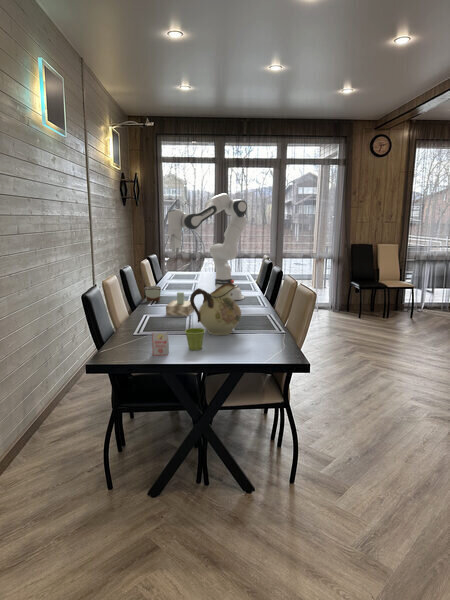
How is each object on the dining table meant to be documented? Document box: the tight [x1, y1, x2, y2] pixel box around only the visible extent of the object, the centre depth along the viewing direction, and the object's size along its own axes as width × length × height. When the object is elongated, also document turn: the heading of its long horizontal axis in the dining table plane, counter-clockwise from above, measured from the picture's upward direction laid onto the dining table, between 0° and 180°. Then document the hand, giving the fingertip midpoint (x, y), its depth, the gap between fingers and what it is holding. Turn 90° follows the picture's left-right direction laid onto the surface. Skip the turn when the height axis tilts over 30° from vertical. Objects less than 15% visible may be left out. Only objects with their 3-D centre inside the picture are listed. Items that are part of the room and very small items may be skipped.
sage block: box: [176, 291, 185, 304], centre depth 263 cm, size 4×4×7 cm
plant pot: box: [184, 327, 206, 351], centre depth 195 cm, size 9×9×9 cm
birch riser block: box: [165, 300, 195, 317], centre depth 264 cm, size 14×16×6 cm
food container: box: [143, 285, 162, 303], centre depth 298 cm, size 12×6×10 cm, turn 84°
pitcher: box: [189, 283, 242, 336], centre depth 218 cm, size 22×24×25 cm
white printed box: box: [151, 332, 170, 357], centre depth 187 cm, size 4×7×10 cm, turn 90°
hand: (175, 254), depth 283 cm, fingers open, 8 cm apart
